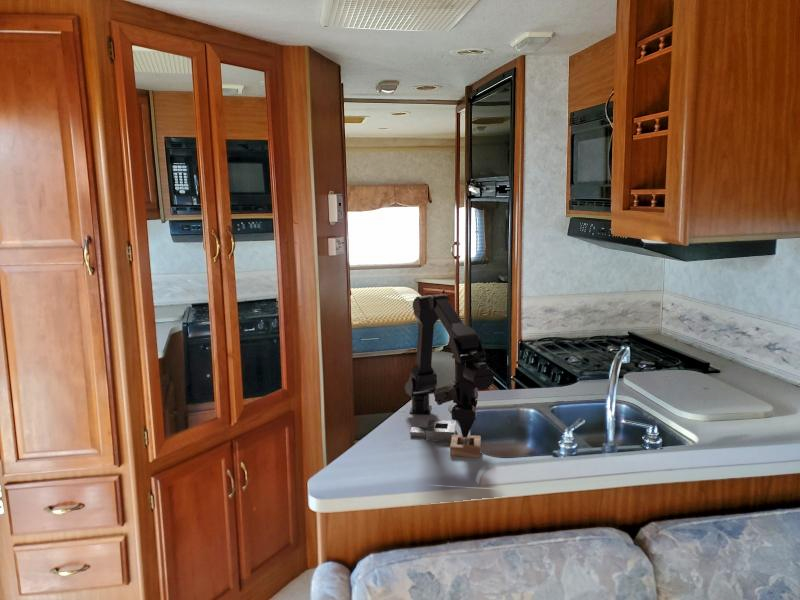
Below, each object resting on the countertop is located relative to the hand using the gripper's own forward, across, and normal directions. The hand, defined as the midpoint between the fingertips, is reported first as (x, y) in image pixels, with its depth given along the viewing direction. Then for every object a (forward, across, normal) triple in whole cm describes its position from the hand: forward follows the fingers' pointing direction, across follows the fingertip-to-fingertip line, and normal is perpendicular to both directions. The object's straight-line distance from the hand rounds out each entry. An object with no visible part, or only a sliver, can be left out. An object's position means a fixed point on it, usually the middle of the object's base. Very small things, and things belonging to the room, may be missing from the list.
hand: (465, 431), depth 167 cm
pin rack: (+5, 0, 0) cm, 5 cm away
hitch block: (+5, -9, -10) cm, 14 cm away
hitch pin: (+5, 0, 0) cm, 5 cm away
